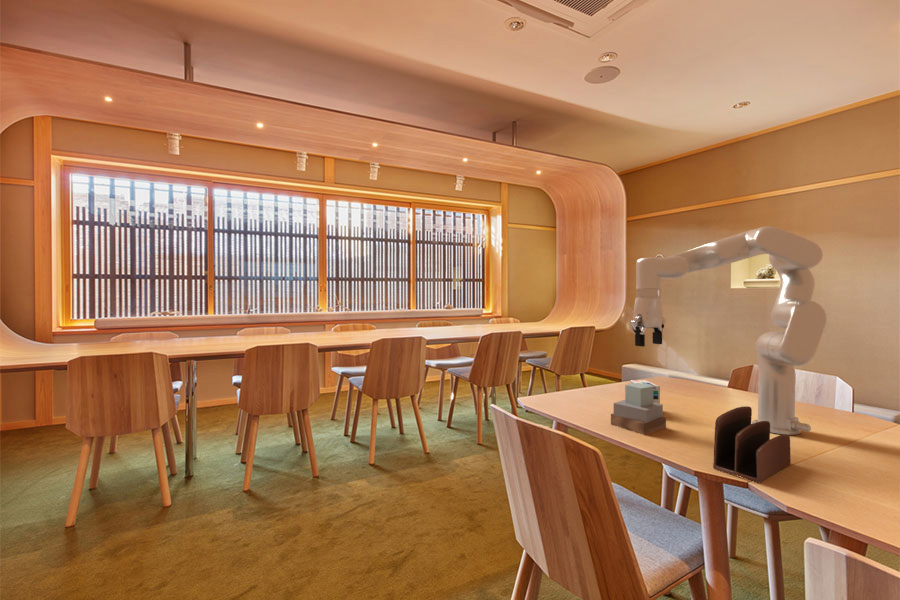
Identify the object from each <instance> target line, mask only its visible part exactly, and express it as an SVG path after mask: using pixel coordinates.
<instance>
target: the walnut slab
mask: <svg viewBox="0 0 900 600" xmlns="http://www.w3.org/2000/svg"><path fill="white" fill-rule="evenodd" d="M611 424H612V425H611ZM610 425H611V426H614V425H615V427H617V426H618V428H620V427H621V428H620V429H623V430H627V431H630V432H633V431H634V432H633V433H636V434H639V433H640V435H642V434H643V435H644V434H645V435H648V434H651V433H656V432H659V431H662V430H665V428H666V429H667V417H665V416H663V417H660V418H658V419H655V420H653V421H650V422H648V423H644V422H640V421H635V420H631V419H627V418H623V417H619V416H615V415H614V412H613V413H611V414H610ZM643 435H642V436H643ZM645 435H644V436H645Z"/></svg>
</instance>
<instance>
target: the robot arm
mask: <svg viewBox="0 0 900 600" xmlns="http://www.w3.org/2000/svg"><path fill="white" fill-rule="evenodd" d="M767 254H768V260H769V263H770V265H771V267H772V268H774V270H775V272H777V274H778V275H779V278H780V279H779V280H780V283H779V284H780V285H779V289H778V293H777V295H776V299H775V301H774V304H773V307H772V310H771V314H770V320H771V322H772V323H773V325H775V326H777V327H778V328H782V329H785V331H783V332H782V331H774V330H773V331H769V332H765V333H762V334H761V335H760V336H759V337H758V338H757V340H756V343H755V352H756V358H757V363H758V364H757V365H758V381H757V382H758V385H757V388H758V389H757V394H758V395H757V399H758V400H757V419H753V420H751V424H753V423H756V422H760V421H769V422H770V434H771V433H772V434H778V435H785V434H787V435H789V436H791V435H792V436H795V435H800V434H801V433H802V431H804V432H808V433H810V432H811V430H812V429H811V427H812V425H810V423H809V424H808V423H805V422H801V421H800V420H799V417H796V381H797V377H796V371H795V367H800V366H804V365H807V364H809V363H810V362H811V361H812V359H814V357H815V355H816V352H817V350H818V347H819V345H820V342H821V339H822V337H823V333H824V331H825V328H826V324H827V313H826V310H825V309H824V307H823V306H822V305H821V304H819V303H818V302H816V301H813V300H812V298H813V295H814V290H815V284H816V283H815V278H814V276H813V274H812V272H811V269H812V268H815V267H816V266H817V265H818V264H820V262H821V261H822V259H823V257H824V256H823V250H822V248H821V247H820V246H819V244H817V243H816V242H814V241H812V240H810V239H807V238H806V237H802V236H799V235H798V234H794V233H793V232H790V231H787V230H784V229H781V228H779V227H775V226H772V225H771V226H768V225H767V226H766V225H764V226H761V227H758V228H754V229H750V230H746V231H743V232H740V233H738V234H737V233H736V234H733V235H730V236H727V237H723V238H721V239H717V240H714V241H710V242H709V243H705V244H701V246H697V247H695V248H691V249H688V250H686V251H682V252H679V253H676V254H673V255H669V256H663V257H654V256H652V257H647V256H646V257H640V258H638V259H636V262H635V270H636V271H635V276H636V277H635V279H636V280H635V282H636V283H635V286H636V288H635V290H636V291H635V294H636V295H635V296H636V297H635V300H634V305H633V313H632V317H633V319H632V320H631V321H630V324H631V326H632V331H633V334H634V346H636V347H642V348H644V347H645V346H646V339H645V338H646V335H645V334H644V333H645V331H646V329H652V330H653V331H652V344H654V345H662V344H663V333H664V328H665V322H666V319H665V318H664V317H663V307H662V300H661V299H662V289H661V288H662V280H675V279H676V280H677V279H682V278H683V277H685V276H686V275H687V274H689V273H692V272H697V271H702V270H710V269H715V268H719V267H724V266H726V265H727V266H728V265H730V264H733V263H737V262H739V261H742V260H746V259H749V258H753V257H756V256H759V255H767Z"/></svg>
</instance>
